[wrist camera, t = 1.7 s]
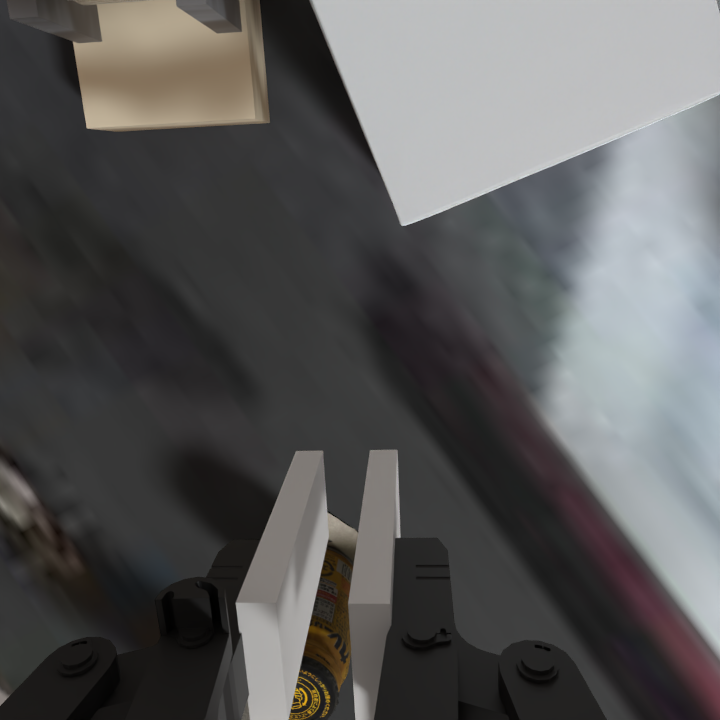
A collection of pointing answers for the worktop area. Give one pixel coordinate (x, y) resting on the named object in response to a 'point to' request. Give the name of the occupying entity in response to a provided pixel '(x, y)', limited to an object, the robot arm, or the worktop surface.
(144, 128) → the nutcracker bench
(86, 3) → the lever
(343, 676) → the condiment
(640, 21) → the supplement box
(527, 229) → the worktop surface
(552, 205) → the worktop surface
